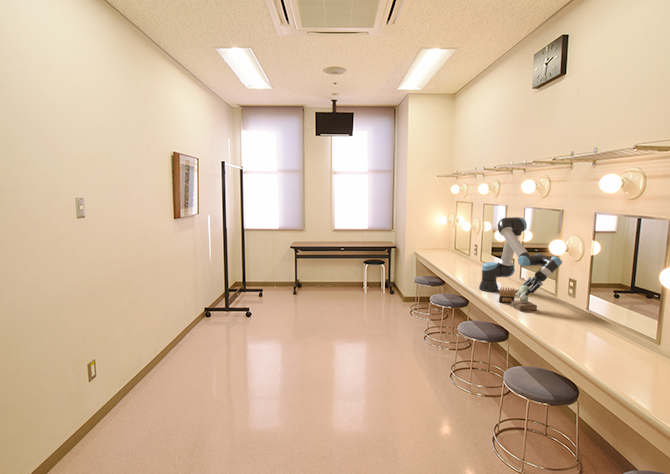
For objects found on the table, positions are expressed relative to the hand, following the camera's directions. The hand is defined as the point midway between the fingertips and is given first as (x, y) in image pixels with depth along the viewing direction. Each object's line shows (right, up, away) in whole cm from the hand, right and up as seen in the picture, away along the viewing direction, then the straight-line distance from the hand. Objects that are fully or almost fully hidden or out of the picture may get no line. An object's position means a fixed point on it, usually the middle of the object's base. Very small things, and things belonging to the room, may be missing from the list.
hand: (519, 296), depth 258 cm
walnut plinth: (+4, -9, +1) cm, 9 cm away
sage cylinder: (+4, -3, +1) cm, 5 cm away
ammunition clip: (-2, -7, +15) cm, 17 cm away
